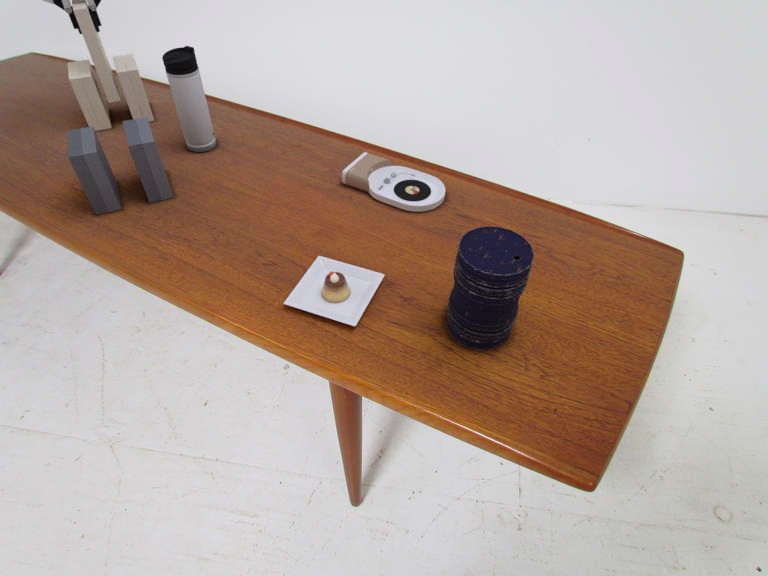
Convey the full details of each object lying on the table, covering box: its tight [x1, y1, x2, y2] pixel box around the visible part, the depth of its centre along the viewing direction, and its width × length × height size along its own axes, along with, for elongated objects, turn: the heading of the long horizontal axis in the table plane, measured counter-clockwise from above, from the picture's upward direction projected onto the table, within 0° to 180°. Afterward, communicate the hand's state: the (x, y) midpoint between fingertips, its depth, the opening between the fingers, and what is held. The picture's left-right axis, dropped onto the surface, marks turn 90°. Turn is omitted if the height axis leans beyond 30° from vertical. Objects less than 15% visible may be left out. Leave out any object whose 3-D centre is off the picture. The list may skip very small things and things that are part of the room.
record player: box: [341, 151, 446, 213], centre depth 99 cm, size 12×3×20 cm
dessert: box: [283, 255, 386, 327], centre depth 77 cm, size 12×12×5 cm
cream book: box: [71, 0, 122, 104], centre depth 108 cm, size 2×10×19 cm, turn 26°
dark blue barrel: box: [445, 225, 535, 351], centre depth 70 cm, size 10×10×15 cm
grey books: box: [66, 117, 174, 216], centre depth 93 cm, size 14×10×12 cm
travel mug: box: [161, 45, 217, 153], centre depth 103 cm, size 6×7×20 cm
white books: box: [67, 53, 155, 132], centre depth 115 cm, size 14×10×12 cm
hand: (89, 30), depth 105 cm, fingers closed on cream book, 2 cm apart
